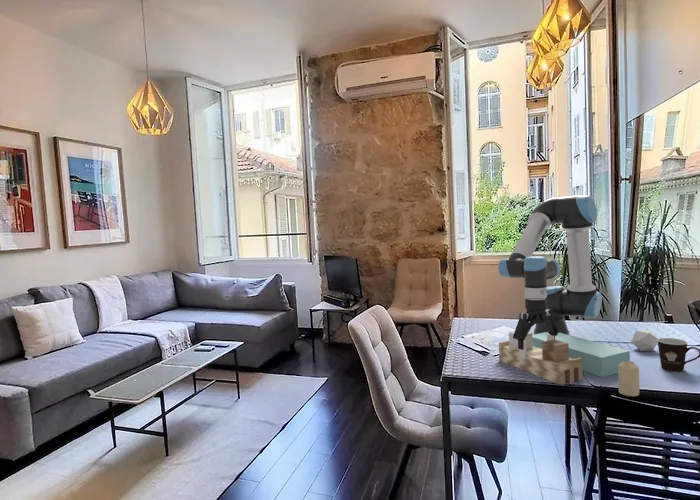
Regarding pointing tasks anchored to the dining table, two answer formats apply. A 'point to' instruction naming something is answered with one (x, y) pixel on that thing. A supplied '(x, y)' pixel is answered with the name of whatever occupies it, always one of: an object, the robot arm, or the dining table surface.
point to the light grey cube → (514, 342)
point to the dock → (589, 353)
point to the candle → (628, 378)
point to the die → (644, 340)
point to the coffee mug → (674, 354)
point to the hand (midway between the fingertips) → (537, 355)
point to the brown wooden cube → (555, 350)
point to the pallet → (542, 364)
